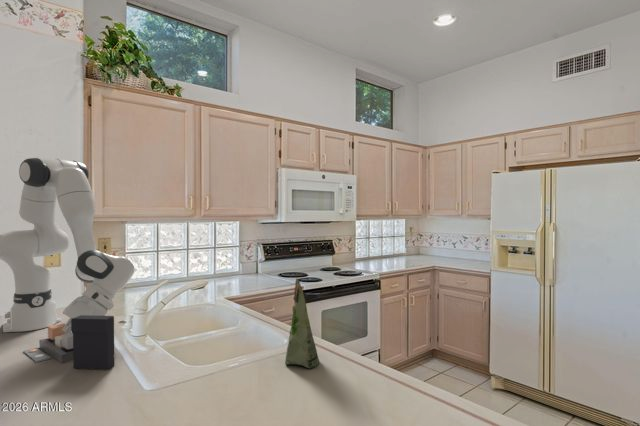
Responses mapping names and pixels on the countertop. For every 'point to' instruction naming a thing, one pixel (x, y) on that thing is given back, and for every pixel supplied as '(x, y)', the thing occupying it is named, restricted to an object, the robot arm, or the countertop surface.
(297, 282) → the green tall pyramid
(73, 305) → the robot arm
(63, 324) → the terracotta key
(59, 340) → the cream key
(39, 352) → the card
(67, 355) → the keyguard frame
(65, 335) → the grey key
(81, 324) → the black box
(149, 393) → the countertop surface
